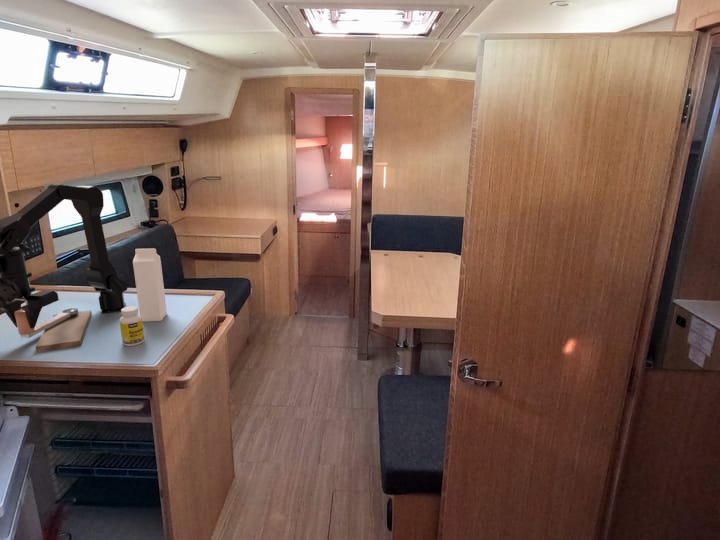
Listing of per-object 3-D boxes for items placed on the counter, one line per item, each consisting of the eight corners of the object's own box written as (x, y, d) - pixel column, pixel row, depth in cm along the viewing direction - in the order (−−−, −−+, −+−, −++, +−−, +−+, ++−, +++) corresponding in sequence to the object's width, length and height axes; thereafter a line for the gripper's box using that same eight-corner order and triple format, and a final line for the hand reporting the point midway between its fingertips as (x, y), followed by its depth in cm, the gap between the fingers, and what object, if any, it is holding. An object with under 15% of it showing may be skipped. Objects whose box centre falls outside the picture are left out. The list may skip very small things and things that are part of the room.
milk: (161, 321, 139) (152, 250, 133) (140, 321, 139) (130, 251, 133) (167, 313, 145) (159, 246, 139) (147, 314, 145) (138, 246, 138)
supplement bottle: (130, 348, 122) (125, 313, 119) (118, 343, 124) (113, 309, 122) (149, 341, 126) (144, 307, 123) (137, 336, 129) (132, 303, 126)
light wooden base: (91, 314, 144) (91, 310, 144) (80, 345, 123) (79, 340, 122) (54, 319, 140) (53, 314, 140) (36, 352, 119) (35, 346, 119)
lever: (81, 312, 141) (77, 289, 139) (29, 339, 122) (23, 314, 120) (69, 311, 141) (65, 289, 139) (15, 338, 122) (10, 313, 120)
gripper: (-49, 279, 113) (-34, 337, 117) (18, 282, 110) (31, 342, 114) (-8, 267, 123) (5, 321, 127) (54, 269, 120) (65, 324, 125)
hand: (25, 327), depth 123 cm, fingers open, 4 cm apart
